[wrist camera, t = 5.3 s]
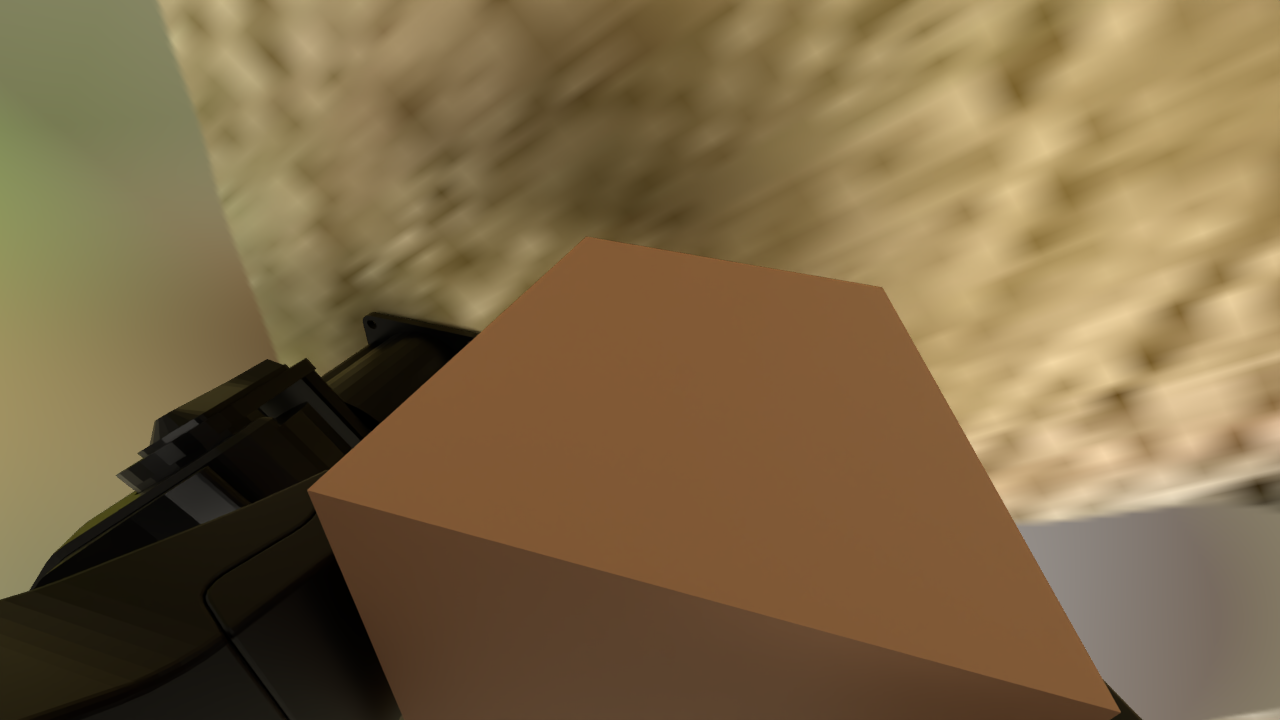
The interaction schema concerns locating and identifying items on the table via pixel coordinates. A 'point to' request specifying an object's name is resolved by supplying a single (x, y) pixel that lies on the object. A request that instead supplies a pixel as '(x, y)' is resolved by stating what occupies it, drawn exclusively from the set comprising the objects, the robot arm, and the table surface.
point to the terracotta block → (694, 516)
